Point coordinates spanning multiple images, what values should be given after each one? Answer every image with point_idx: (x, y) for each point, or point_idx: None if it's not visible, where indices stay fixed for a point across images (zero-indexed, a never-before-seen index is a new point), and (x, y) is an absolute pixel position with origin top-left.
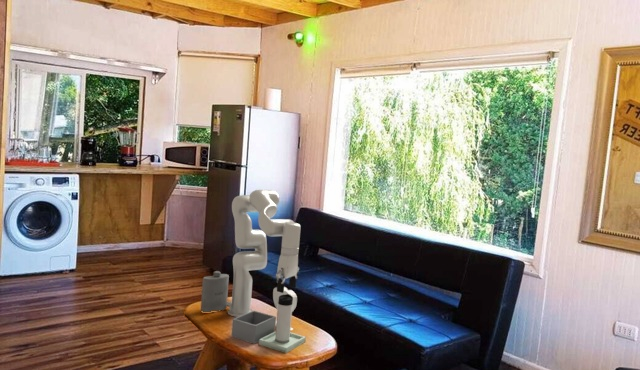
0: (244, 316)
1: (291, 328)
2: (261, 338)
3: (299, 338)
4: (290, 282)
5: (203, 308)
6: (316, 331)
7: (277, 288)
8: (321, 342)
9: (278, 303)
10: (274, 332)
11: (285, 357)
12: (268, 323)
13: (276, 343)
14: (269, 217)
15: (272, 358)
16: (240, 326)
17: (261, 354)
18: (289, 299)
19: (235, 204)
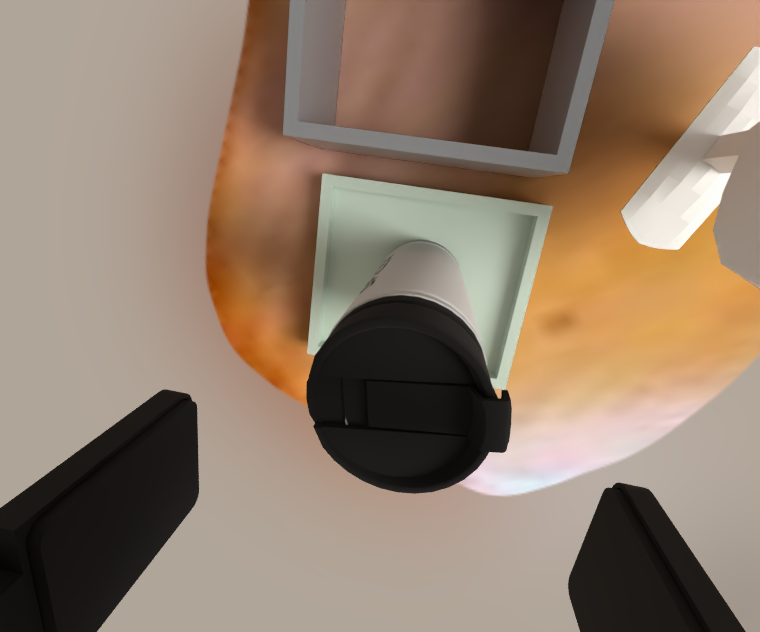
0: None
1: (674, 237)
2: (343, 177)
3: (499, 351)
4: (638, 594)
5: None
6: (691, 385)
7: (129, 425)
8: (532, 447)
9: (356, 309)
10: (478, 202)
11: (272, 357)
12: (455, 160)
13: (365, 269)
14: None
15: (228, 312)
16: None
17: (233, 248)
18: (375, 460)
19: None
